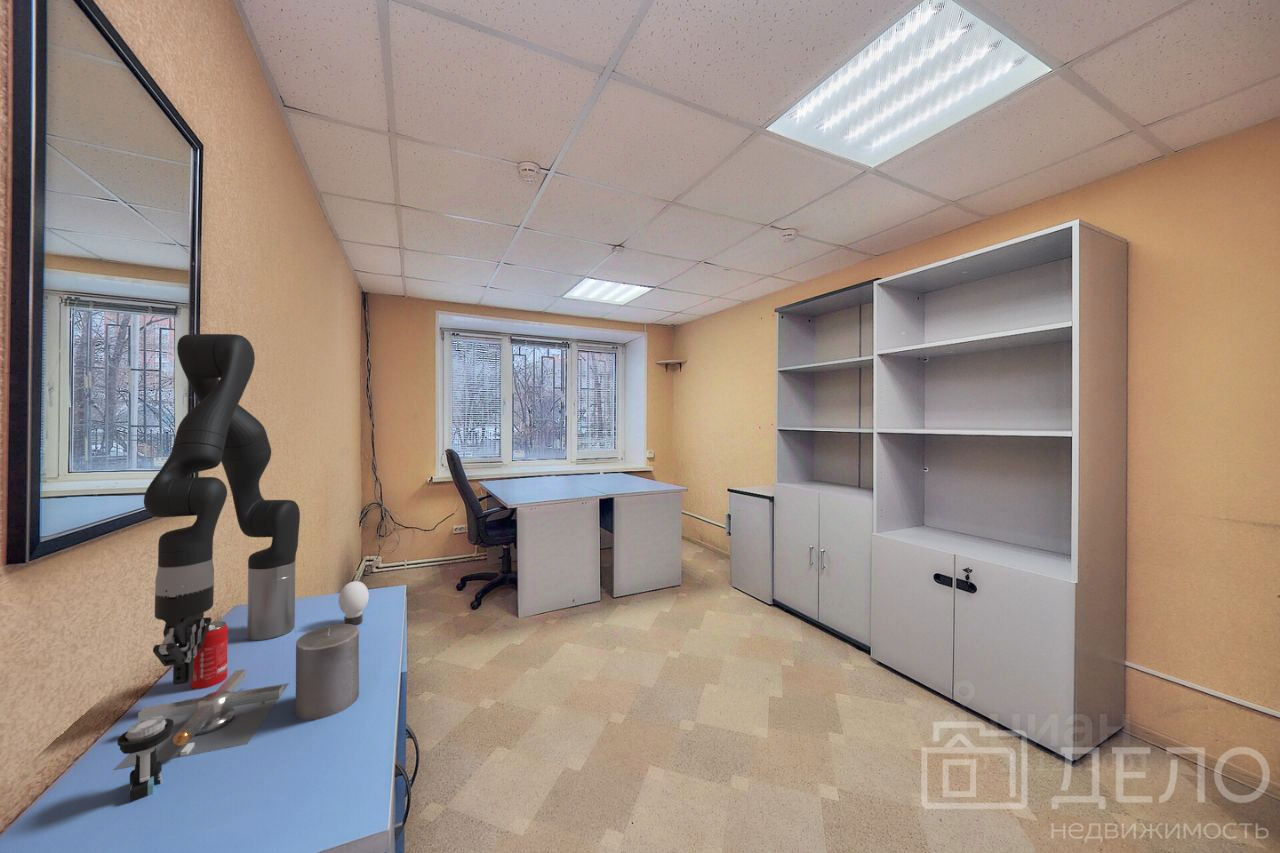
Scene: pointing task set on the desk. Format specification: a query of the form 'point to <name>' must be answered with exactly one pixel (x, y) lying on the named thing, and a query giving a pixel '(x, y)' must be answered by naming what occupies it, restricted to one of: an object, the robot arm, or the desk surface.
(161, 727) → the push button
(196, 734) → the capstan
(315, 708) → the pillar candle
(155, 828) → the desk surface
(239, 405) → the robot arm
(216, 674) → the beverage can
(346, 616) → the light bulb
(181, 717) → the stand
